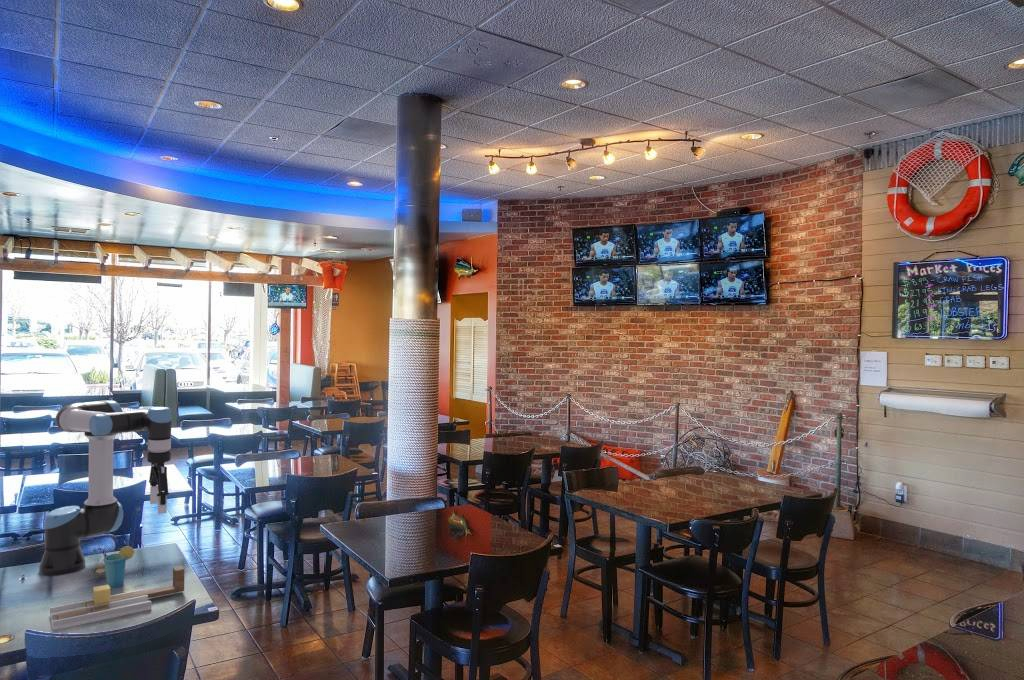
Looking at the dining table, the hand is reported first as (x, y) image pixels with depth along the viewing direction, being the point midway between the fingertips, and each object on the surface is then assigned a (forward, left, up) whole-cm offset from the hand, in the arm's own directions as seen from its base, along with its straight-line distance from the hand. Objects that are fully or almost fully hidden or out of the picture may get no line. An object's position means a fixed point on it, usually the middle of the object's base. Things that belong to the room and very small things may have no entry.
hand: (158, 508), depth 253 cm
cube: (+7, -18, -27) cm, 34 cm away
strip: (+7, -8, -29) cm, 31 cm away
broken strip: (+13, -24, -29) cm, 40 cm away
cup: (-14, -13, -30) cm, 36 cm away
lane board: (+10, -19, -30) cm, 37 cm away
